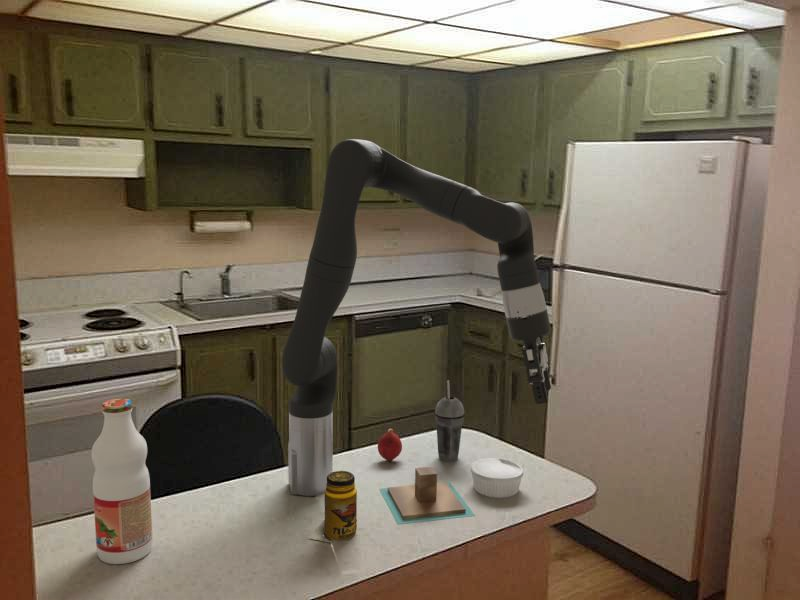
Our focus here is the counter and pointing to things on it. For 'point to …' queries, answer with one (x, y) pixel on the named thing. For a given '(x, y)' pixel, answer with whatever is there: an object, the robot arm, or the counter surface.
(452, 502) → the lid
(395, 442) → the pomegranate
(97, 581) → the counter surface
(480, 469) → the ramekin
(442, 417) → the beverage cup
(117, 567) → the counter surface
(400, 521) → the mat
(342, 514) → the condiment
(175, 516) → the counter surface
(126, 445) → the fruit juice
